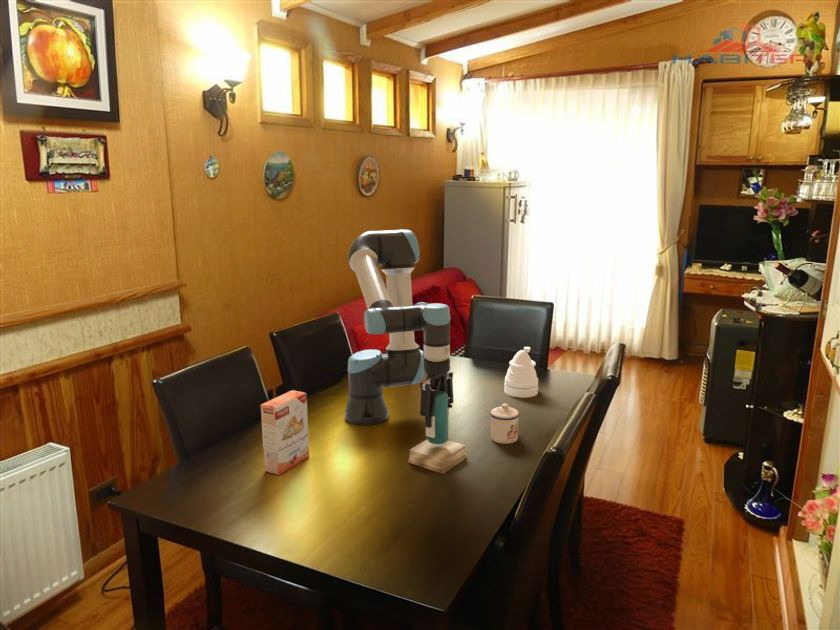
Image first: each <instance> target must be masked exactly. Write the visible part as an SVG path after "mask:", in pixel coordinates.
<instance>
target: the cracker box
mask: <svg viewBox="0 0 840 630" xmlns="http://www.w3.org/2000/svg"><path fill="white" fill-rule="evenodd" d="M307 398H308V394H307V393H306V392H304V391H300V390H299V391H297V390H294V389H292V390H290V391H287V392H285V393H283V394H281V395H279V396H277V397H275V398H274V397H273V398H272V399H270V400H268V401H266V402H263V403H261V404H260V414H261V415H260V417H261V433H262V451H263V463H264V464H263V465H264V472H267V473H270V474H273V475H275V476H281V475H282V474H283V473H285V472H287V471H288V470H290V469H292V468H294V467H295V466H297V464H300V463H301V462H303V461H304V460H306V459H307V458H309V457H310V447H309V444H310V443H309V425H308V424H309V423H308V422H309V420H308V399H307Z"/></svg>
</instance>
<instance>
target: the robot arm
mask: <svg viewBox="0 0 840 630" xmlns="http://www.w3.org/2000/svg"><path fill="white" fill-rule="evenodd" d="M347 252H348V253H347V261H348V264H349V268H350V269H351V270H352V271H353V272H354V273H355V276H356V278H357V282H358V284H359V288H360V291H361V293H362V296H363V300H364V302H365V305H366V308H367V309H366V310H364V313H363V323H364V328H365V331H366V333H367V334H369V335H386V334H389V344H388V345H387V346H386V348H385V351H386V353H382V351H381V350H379V349H375V348H374V349H364V350H359V351H357V352H355V353H353V354H351V355H350V356H349V358H348V360H347V372H348V400H347V403H346V408H345V411H344V419H345V421H346V422H348V423H350V424H353V425H359V426H371V425H377V424H380V423H383V422H384V421H386V420H387V419H388V418H389V408H388V406H387V404H386V401H385V398H384V393H383V389H384V388H390V387H399V386H410V385H416V384H419V386H420V408H419V409H420V410H419V415H420V416H421V417H424V420H425V421H424V423H425V424H424V426H425V436H426V437H427V436H428V437H431V438H434V437H435V416H433V412H434V406H435V398H436V396H437V394H438V393H439V387H440V385H441V381H443V382H444V389H442V391H444V392H445V393H446V394H447V395H448V430H449V426H450V425H449V424H450V421H449V418H450V417H449V416H450V412H449V411H450V409H453V404H454V387H453V384H454V382H453V377H454V372H451V371H450V370H451V359H450V357H451V355H450V354H451V348H450V347H451V345H450V344H451V312H450V307H449V306H448V304H445V303H444V304H443V303H439V302H437V303H436V302H435V303H428V302H423V301H420V302H417V303H414V304H413V291H412V275H411V274H412V272H413V271H414V270H415V264H417V263H418V262H419V260H420V253H421V252H420V247H419V242H418V239H417V236H416V234H415V233H414V232H413V231H412V230H410V229H400V228H399V229H389V230H388V229H387V230H385V229H384V230H369V231H368V230H367V231H366V232H363V233H361V234H360V235H358V236H357V237H355V239H354V240H353V241H352V242H351V245H350V246H349V249H348V251H347ZM379 266H380V268H379ZM380 269H381V270H380ZM381 271H382V272H383V273H384V274H385V279H386V280H385V281H386V283H385V281H384V278H383V276H382V273H381ZM416 331H417V332H418V331H422V332H423V350H421V349H420V345H419V344H418V343H416V341H415V332H416ZM425 373H426V374H425ZM425 375H426V380H425V381H424V382H422V380H423V379H424V377H425ZM432 389H433V390H435V391H433V390H432ZM429 412H430V413H429Z"/></svg>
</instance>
